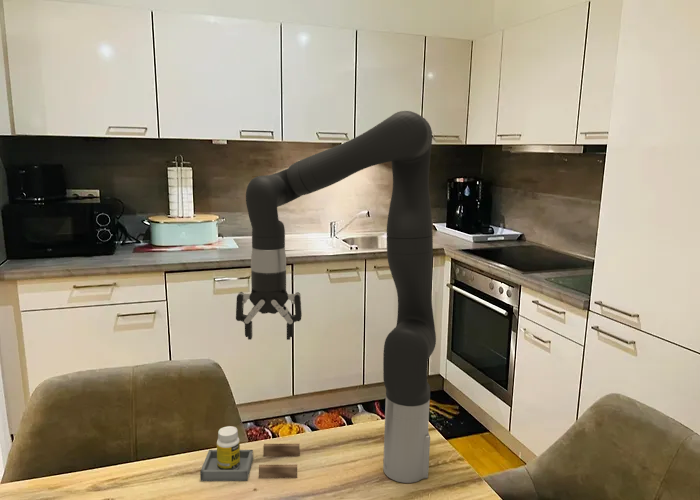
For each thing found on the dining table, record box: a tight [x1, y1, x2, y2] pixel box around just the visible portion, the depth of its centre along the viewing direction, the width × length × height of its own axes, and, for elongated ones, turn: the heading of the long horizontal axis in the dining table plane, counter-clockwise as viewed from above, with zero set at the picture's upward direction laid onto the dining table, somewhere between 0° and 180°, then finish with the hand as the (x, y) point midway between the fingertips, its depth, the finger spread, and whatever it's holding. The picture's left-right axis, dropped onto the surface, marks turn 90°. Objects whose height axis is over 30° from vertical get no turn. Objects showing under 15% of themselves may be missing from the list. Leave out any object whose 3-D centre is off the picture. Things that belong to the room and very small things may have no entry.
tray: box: [199, 449, 254, 482], centre depth 112 cm, size 10×8×2 cm
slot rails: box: [258, 443, 301, 479], centre depth 113 cm, size 8×9×2 cm
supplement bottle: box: [216, 425, 241, 470], centre depth 111 cm, size 5×5×8 cm
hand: (269, 338), depth 117 cm, fingers open, 8 cm apart
